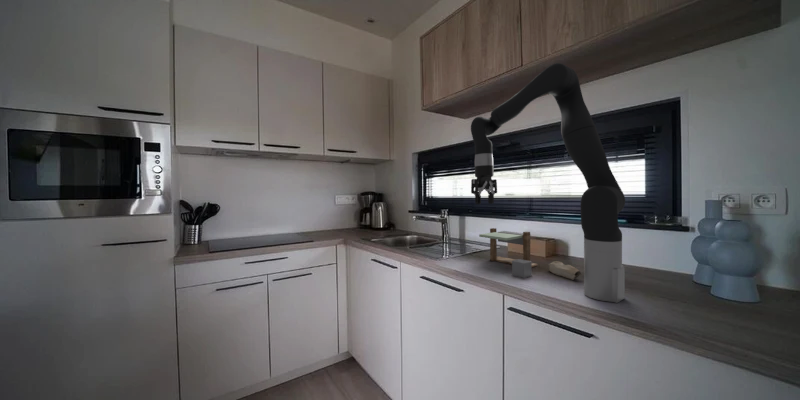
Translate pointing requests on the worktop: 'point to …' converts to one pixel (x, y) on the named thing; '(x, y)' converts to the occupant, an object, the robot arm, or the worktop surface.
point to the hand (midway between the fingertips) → (484, 203)
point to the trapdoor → (505, 237)
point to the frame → (506, 260)
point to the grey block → (522, 268)
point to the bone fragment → (564, 270)
